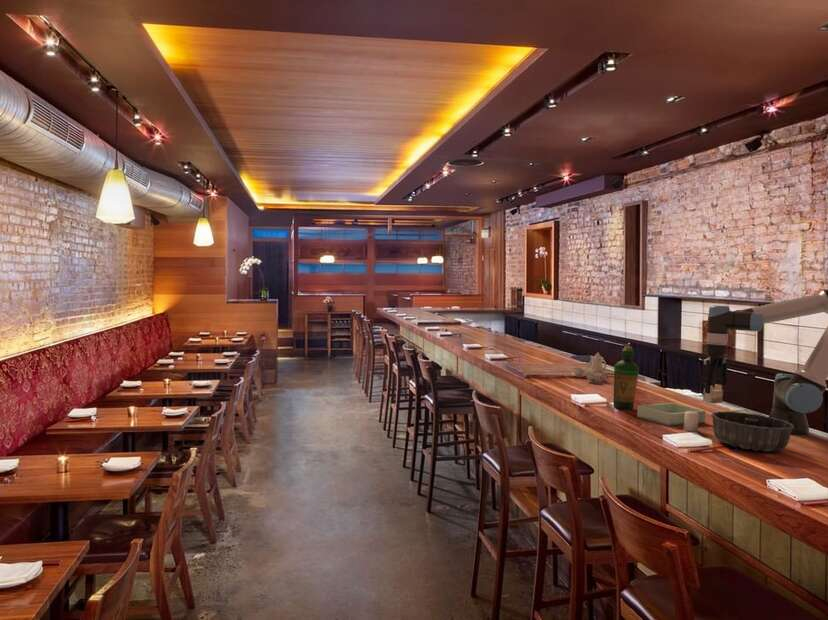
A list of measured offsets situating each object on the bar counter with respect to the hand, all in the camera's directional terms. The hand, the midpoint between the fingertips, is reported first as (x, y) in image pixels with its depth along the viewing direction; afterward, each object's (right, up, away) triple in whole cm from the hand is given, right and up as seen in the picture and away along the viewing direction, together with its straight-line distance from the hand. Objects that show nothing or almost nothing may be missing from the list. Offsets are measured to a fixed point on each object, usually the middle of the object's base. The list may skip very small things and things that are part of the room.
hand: (712, 400), depth 247 cm
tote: (-13, -10, +10) cm, 19 cm away
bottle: (-26, -8, +29) cm, 40 cm away
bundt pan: (+1, -13, -25) cm, 29 cm away
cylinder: (-12, -11, -6) cm, 17 cm away
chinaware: (-19, -4, +106) cm, 108 cm away
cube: (0, 0, 0) cm, 0 cm away
